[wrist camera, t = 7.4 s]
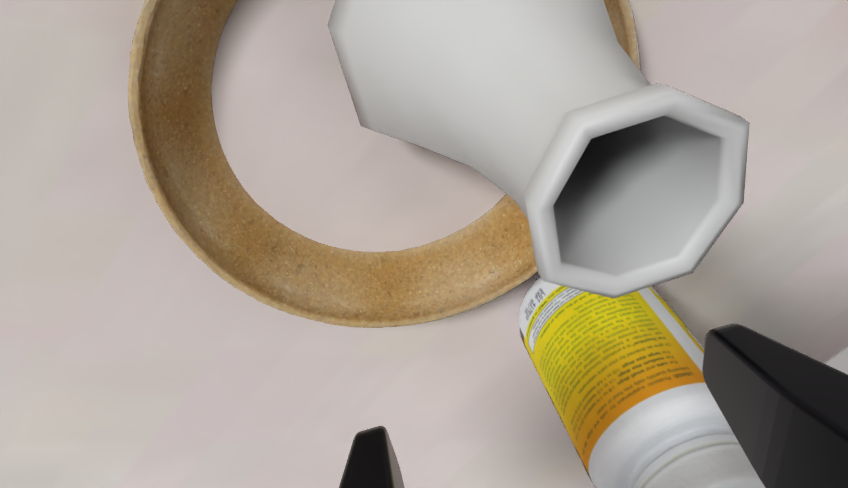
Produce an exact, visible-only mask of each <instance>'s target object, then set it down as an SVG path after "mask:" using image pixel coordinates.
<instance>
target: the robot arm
mask: <svg viewBox="0 0 848 488" xmlns="http://www.w3.org/2000/svg"><path fill="white" fill-rule="evenodd" d="M702 372H703V377H704V381H705V383H706V385H707V387H708V389H709V391H710V393H711V394H712V396H713V398H714V400H715V401H716V403H717V405H718V407H719V409H720V410H721V412H722V414H723V416H724V417H725V419H726V421H727V423H728V424H729V426H730V428H731V430H732V432H733V433H734V435H735V437H736V439H737V440H738V442H739V444H740V446H741V447H742V449H743V451H744V453H745V455H746V456H747V458H748V460H749V462H750V463H751V465H752V467H753V468H754V470H755V472H756V473H757V475H758V477H759V479H760V480H761V482H762V483H763V485H764V486H765V488H848V375H847V374H845V373H843V372H841V371H839V370H836V369H834V368H832V367H830V366H828V365H826V364H824V363H822V362H819V361H817V360H815V359H813V358H811V357H809V356H807V355H804V354H802V353H800V352H798V351H796V350H794V349H792V348H789V347H787V346H785V345H783V344H781V343H779V342H777V341H775V340H772V339H770V338H768V337H766V336H764V335H762V334H760V333H757V332H755V331H753V330H751V329H749V328H747V327H745V326H742V325H739V324H729V325H725V326H722V327H719V328H715V329H712V330H710V331H709V332H708V333H707V335H706V338H705V347H704V357H703V366H702ZM339 488H404V484H403V480H402V475H401V471H400V467H399V464H398V461H397V458H396V455H395V452H394V449H393V446H392V444H391V441H390V438H389V435H388V432H387V430H386V428H385V427H383V426H378V427H374V428H371V429H367V430H364V431H361V432H359V433H357V434H356V436H355V438H354V440H353V443H352V447H351V450H350V453H349V456H348V460H347V463H346V466H345V470H344V473H343V476H342V479H341V483H340V486H339Z"/></svg>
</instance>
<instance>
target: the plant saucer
mask: <svg viewBox="0 0 848 488" xmlns="http://www.w3.org/2000/svg"><path fill="white" fill-rule="evenodd" d="M236 2H237V0H145V2H144V4H143V7H142V10H141V14H140V18H139V21H138V23H137V28H136V30H135V34H134V38H133V41H132V51H131V58H130V71H129V84H128V106H129V118H130V122H131V126H132V131H133V138H134V143H135V146H136V150H137V153H138V156H139V160H140V163H141V166H142V169H143V172H144V175H145V179H146V181H147V183H148V186H149V188H150V189H151V191H152V193H153V194H154V197H155V199H156V202H157V203H158V205H159V207H160V209H161V210H162V212H163V213H164V215H165V217H166V219H167V220H168V222H169V223H170V225H171V226H172V228H173V229H174V231H175V232H176V233H177V234H178V236H179V237H180V238H181V239H182V240H183V241H184V242H185V243H186V245H187V246H188V247H189V248H190V249H191V250H192V251H193V252H194V253H195V254H196V256H197V257H198V258H199V259H201V260H202V261H203V262H204V263H205V264H206V265H207V266H208V267H209V268H210V269H211V270H212V271H213V272H214V273H216V274H217V275H219V276H220V277H221V278H223V279H224V280H225V281H227V282H228V283H229V284H231V285H232V286H234V287H235V288H237V289H239V290H241V291H242V292H244V293H246V294H247V295H249V296H251V297H253V298H255V299H256V300H258V301H260V302H262V303H264V304H267V305H269V306H271V307H273V308H276V309H278V310H281V311H284V312H287V313H289V314H292V315H297V316H300V317H304V318H307V319H311V320H315V321H320V322H323V323H327V324H333V325H340V326H348V327H363V328H382V327H397V326H407V325H414V324H421V323H426V322H430V321H435V320H440V319H443V318H447V317H450V316H453V315H456V314H458V313H461V312H465V311H468V310H471V309H473V308H476V307H478V306H481V305H483V304H485V303H487V302H489V301H491V300H493V299H495V298H497V297H499V296H501V295H503V294H505V293H507V292H508V291H509V290H511V289H513V288H515V287H516V286H518V285H519V284H521V283H522V282H524V281H525V280H527V279H529V278H530V277H531V276H532V275H534V274H535V273H536V272H537V266H536V262H535V256H534V250H533V245H532V239H531V233H530V227H529V221H528V219H527V217H526V216H525V214H524V213H523V212H522V210H521V209H520V207H519V206H518V204H517V203H516V202H515V200H514V199H512V198H511V197H510V196H508V195H507V194H506V195H505V196H504V197H503V198H502V199H501V200H500V201H499V202H498V203H497V204H496V205H495V206H494V207H493V208H492V209H491V210H490V211H488V212H487V213H486V214H484V215H483V216H482V217H480V218H479V219H477V220H476V221H474V222H473V223H471V224H470V225H468V226H466V227H465V228H463V229H461V230H459V231H457V232H455V233H453V234H451V235H449V236H447V237H445V238H443V239H440V240H437V241H434V242H431V243H429V244H426V245H423V246H420V247H415V248H409V249H405V250H401V251H391V252H360V251H352V250H346V249H340V248H335V247H332V246H328V245H325V244H321V243H318V242H316V241H313V240H311V239H308V238H306V237H304V236H302V235H300V234H298V233H296V232H294V231H292V230H291V229H289V228H287V227H286V226H284V225H283V224H281V223H280V222H278V221H277V220H275V219H274V218H273V217H272V216H270V215H269V214H268V213H267V212H266V211H265V210H264V209H262V208H261V207H260V206H259V205H258V204H257V203H256V202H255V201H254V200H253V199H252V198H251V197H250V195H249V194H248V193H247V192H246V191H245V189H244V188H243V187H242V185H241V184H240V182H239V181H238V179H237V178H236V176H235V174H234V173H233V171H232V169H231V167H230V166H229V164H228V162H227V159H226V157H225V155H224V153H223V150H222V148H221V145H220V142H219V138H218V135H217V131H216V127H215V122H214V117H213V110H212V95H211V83H212V73H213V65H214V58H215V53H216V49H217V45H218V41H219V38H220V35H221V33H222V30H223V27H224V25H225V23H226V21H227V18H228V16H229V14H230V13H231V11H232V9H233V7H234V5H235V3H236ZM604 3H605V6H606V9H607V12H608V15H609V18H610V21H611V23H612V26H613V29H614V32H615V35H616V38H617V41H618V43H619V44H620V46H621V47H622V48H623V49H624V51H625V52H626V53H627V55H628V56H629V57H630V58H631V60H632V61H633V62H634V64H635V65H636V66H637V67H638V69H639V70H640V60H639V47H638V40H637V34H636V27H635V21H634V17H633V12H632V9H631V5H630V2H629V0H604Z"/></svg>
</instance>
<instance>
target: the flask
mask: <svg viewBox="0 0 848 488" xmlns="http://www.w3.org/2000/svg"><path fill="white" fill-rule="evenodd" d="M328 28H329V31H330V34H331V37H332V40H333V43H334V46H335V49H336V52H337V55H338V58H339V61H340V64H341V67H342V70H343V73H344V76H345V79H346V82H347V85H348V88H349V91H350V94H351V97H352V101H353V104H354V107H355V110H356V113H357V116H358V119H359V122H360V125H361V126H363V127H365V128H368V129H370V130H373V131H376V132H379V133H382V134H385V135H388V136H391V137H395V138H398V139H401V140H404V141H407V142H410V143H414V144H416V145H419V146H421V147H424V148H426V149H429V150H431V151H434V152H436V153H439V154H441V155H443V156H446V157H448V158H451V159H453V160H456V161H458V162H461V163H463V164H466V165H468V166H471V167H473V168H474V169H475V170H477V171H478V172H479V173H480V174H482V175H483V176H484V177H486V178H487V179H488V180H489V181H491V182H492V183H493V184H494V185H496V186H497V187H498V188H500V189H501V190H502V191H503V192H505V193H506V194H507V195H508V196H510V197H511V198H512V199H514V200H515V202H516V203H517V204H518V206H519V207H520V209H521V210H522V212H523V213H524V214H525V216H526V217H527V219H528V221H529V227H530V233H531V239H532V245H533V250H534V256H535V262H536V266H537V271H538V274H539V275H540V276H541V278H542V279H543V281H545V282H549V283H553V284H557V285H561V286H565V287H569V288H573V289H577V290H581V291H585V292H589V293H593V294H597V295H601V296H605V297H610V298H617V297H620V296H623V295H626V294H629V293H632V292H635V291H638V290H641V289H644V288H647V287H651V286H654V285H657V284H660V283H663V282H666V281H669V280H672V279H675V278H678V277H681V276H684V275H687V274H690V273H693V271H694V270H695V269H696V267H697V266H698V264H699V263H700V262H701V260H702V259H703V258H704V256H705V255H706V253H707V252H708V251H709V249H710V248H711V247H712V245H713V244H714V242H715V241H716V240H717V238H718V237H719V236H720V234H721V233H722V231H723V230H724V229H725V227H726V226H727V225H728V223H729V222H730V220H731V219H732V218H733V216H734V215H735V214H736V212H737V211H738V209H739V208H740V207H741V205H742V204H743V201H744V188H745V175H746V162H747V148H748V135H749V122H747V121H746V120H745V119H743V118H742V117H741V116H739V115H736V114H734V113H732V112H729V111H727V110H725V109H722V108H720V107H718V106H715V105H713V104H710V103H708V102H706V101H703V100H701V99H699V98H696V97H694V96H692V95H689V94H687V93H685V92H682V91H680V90H678V89H675V88H673V87H670V86H668V85H663V84H657V83H656V84H653V85H651V84H650V83H649V82H648V80H647V79H646V78H645V77H644V75H643V74H642V73H641V71H640V70H639V69H638V67H637V66H636V65H635V64H634V62H633V61H632V60H631V58H630V57H629V56H628V55H627V53H626V52H625V51H624V49H623V48H622V47H621V46H620V44H619V43H618V41H617V38H616V35H615V32H614V29H613V26H612V23H611V21H610V18H609V15H608V12H607V9H606V6H605V3H604V0H335V4H334V7H333V10H332V13H331V16H330V19H329V22H328Z"/></svg>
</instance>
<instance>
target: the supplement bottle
mask: <svg viewBox="0 0 848 488" xmlns="http://www.w3.org/2000/svg"><path fill="white" fill-rule="evenodd" d="M518 327H519V332H520V336H521V338H522V341H523V343H524V346H525V348H526V349H527V351H528V354H529V356H530V358H531V360H532V362H533V364H534V366H535V368H536V370H537V372H538V374H539V376H540V378H541V380H542V382H543V384H544V386H545V388H546V390H547V392H548V394H549V396H550V398H551V400H552V402H553V404H554V406H555V408H556V410H557V412H558V414H559V416H560V418H561V420H562V422H563V424H564V426H565V428H566V430H567V432H568V434H569V436H570V438H571V440H572V442H573V444H574V446H575V448H576V451H577V453H578V455H579V457H580V459H581V461H582V463H583V465H584V467H585V469H586V471H587V474H588V475H589V477H590V479H591V481H592V483H593V484H594V486H595V488H765V486H764V485H763V483H762V482H761V480H760V479H759V477H758V475H757V473H756V472H755V470H754V468H753V467H752V465H751V463H750V462H749V460H748V458H747V456H746V455H745V453H744V451H743V449H742V447H741V446H740V444H739V442H738V440H737V439H736V437H735V435H734V433H733V432H732V430H731V428H730V426H729V424H728V423H727V421H726V419H725V417H724V416H723V414H722V412H721V410H720V409H719V407H718V405H717V403H716V401H715V400H714V398H713V396H712V394H711V393H710V391H709V389H708V387H707V385H706V383H705V381H704V377H703V372H702V366H703V357H704V347H703V346H702V345H701V344H700V342H699V341H698V340H697V339H696V338H695V337H694V335H693V334H692V333H691V332H690V331H689V329H688V328H687V327H686V326H685V324H684V323H683V322H682V321H681V320H680V319H679V317H678V316H677V315H676V314H675V313H674V312H673V310H672V309H671V308H670V307H669V306H668V305H667V303H666V302H665V301H664V300H663V299H662V298H661V296H660V295H659V294H658V293H657V292H656V291H655V289H654V288H653V287H652V286H651V287H647V288H644V289H641V290H638V291H635V292H632V293H629V294H626V295H623V296H620V297H617V298H610V297H605V296H601V295H597V294H593V293H589V292H585V291H581V290H577V289H573V288H569V287H565V286H561V285H557V284H553V283H549V282H545V281H543V279H542V278H541V276H540V277H539V278H538V279H537V280H536V281H535V282H534V284H533V285H532V286H531V288H530V289H529V290H528V292H527V293H526V295H525V297H524V299H523V301H522V304H521V307H520V311H519V317H518Z"/></svg>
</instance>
